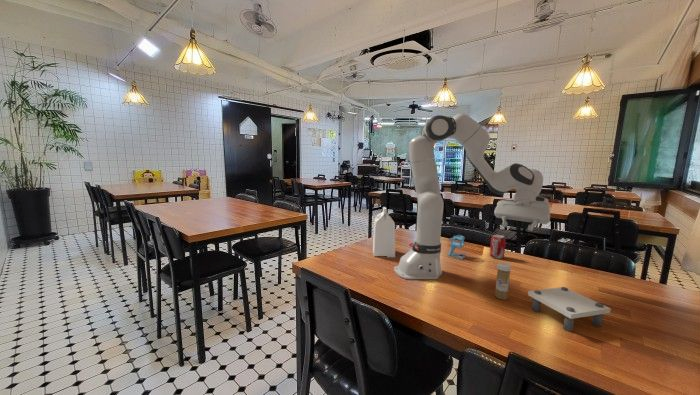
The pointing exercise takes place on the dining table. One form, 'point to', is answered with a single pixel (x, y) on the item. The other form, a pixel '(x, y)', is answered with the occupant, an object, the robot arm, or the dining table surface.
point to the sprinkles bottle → (502, 280)
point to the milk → (384, 235)
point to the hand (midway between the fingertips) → (516, 227)
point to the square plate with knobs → (569, 305)
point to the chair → (456, 244)
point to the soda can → (497, 246)
